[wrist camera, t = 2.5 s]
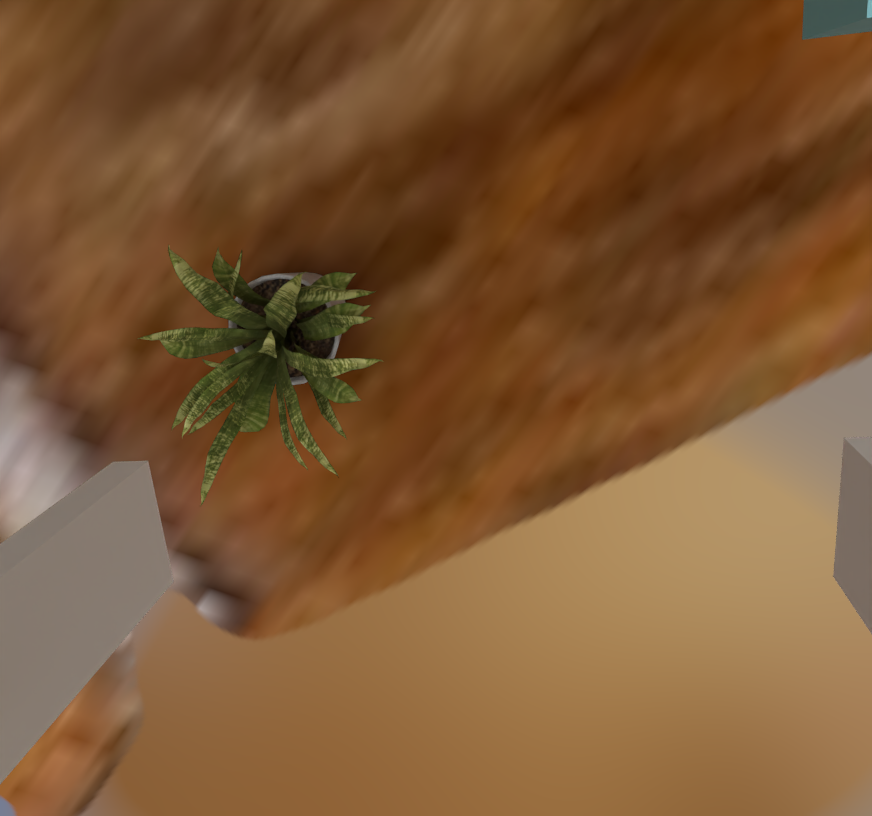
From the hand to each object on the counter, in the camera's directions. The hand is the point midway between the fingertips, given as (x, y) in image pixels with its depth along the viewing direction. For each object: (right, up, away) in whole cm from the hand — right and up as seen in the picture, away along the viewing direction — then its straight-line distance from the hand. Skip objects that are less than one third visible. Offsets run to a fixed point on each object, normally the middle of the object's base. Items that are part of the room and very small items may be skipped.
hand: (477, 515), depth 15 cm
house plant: (-9, +8, +40) cm, 42 cm away
